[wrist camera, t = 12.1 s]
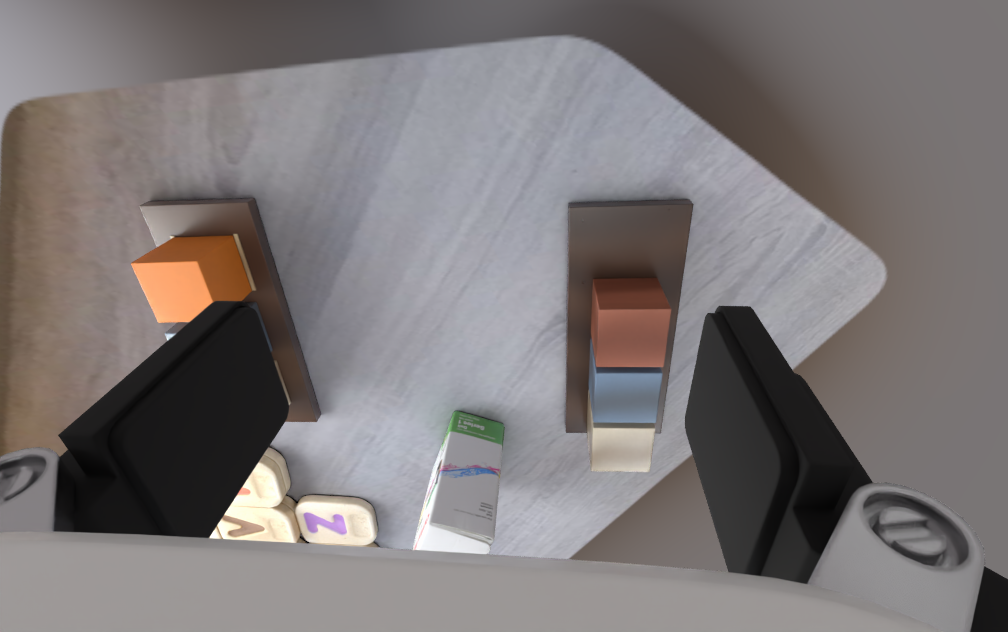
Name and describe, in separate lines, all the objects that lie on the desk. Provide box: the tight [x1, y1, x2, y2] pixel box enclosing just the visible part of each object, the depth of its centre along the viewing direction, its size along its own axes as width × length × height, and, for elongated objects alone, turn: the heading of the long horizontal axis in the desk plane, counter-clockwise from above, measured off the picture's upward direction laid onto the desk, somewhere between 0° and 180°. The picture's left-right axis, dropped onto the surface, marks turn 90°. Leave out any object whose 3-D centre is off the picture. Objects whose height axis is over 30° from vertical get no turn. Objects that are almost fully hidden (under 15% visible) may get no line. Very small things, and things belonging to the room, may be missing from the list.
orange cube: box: [131, 236, 252, 323], centre depth 35 cm, size 4×4×4 cm
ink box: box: [412, 411, 505, 554], centre depth 41 cm, size 8×5×12 cm, turn 162°
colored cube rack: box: [566, 200, 693, 472], centre depth 36 cm, size 20×8×6 cm, turn 3°
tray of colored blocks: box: [139, 198, 321, 422], centre depth 38 cm, size 20×8×6 cm, turn 3°
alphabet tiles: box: [210, 447, 379, 548], centre depth 56 cm, size 33×33×2 cm
